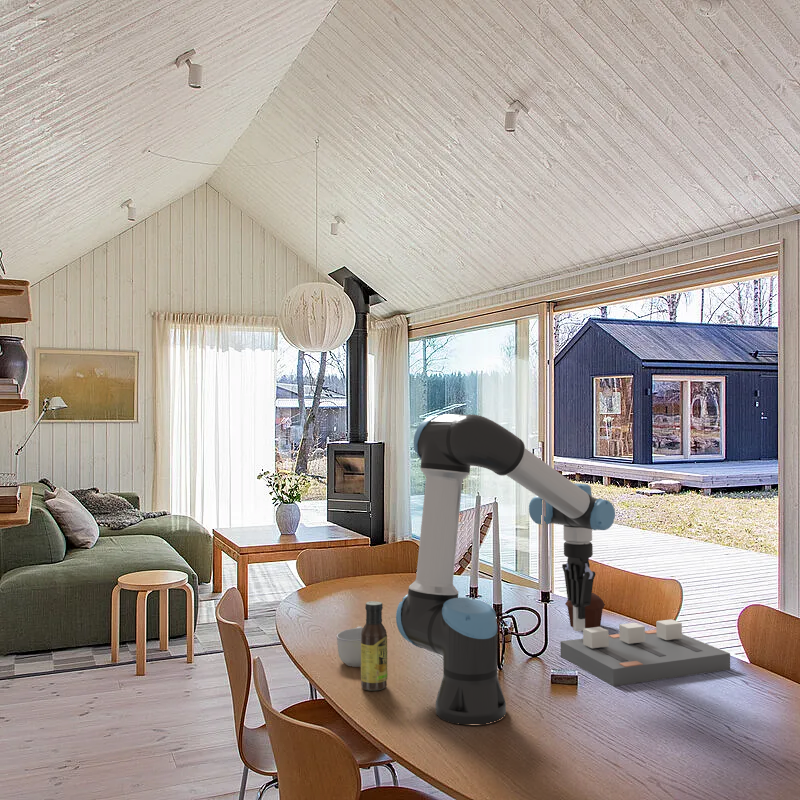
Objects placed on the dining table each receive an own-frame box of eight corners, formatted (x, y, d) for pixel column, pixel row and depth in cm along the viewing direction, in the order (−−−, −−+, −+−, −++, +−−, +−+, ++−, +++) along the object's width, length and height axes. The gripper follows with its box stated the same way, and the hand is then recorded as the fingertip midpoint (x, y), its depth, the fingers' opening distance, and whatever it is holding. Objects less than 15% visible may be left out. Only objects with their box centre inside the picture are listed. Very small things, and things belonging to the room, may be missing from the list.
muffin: (592, 619, 244) (592, 587, 244) (612, 629, 233) (612, 595, 234) (558, 623, 240) (558, 590, 240) (577, 632, 230) (577, 598, 230)
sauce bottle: (383, 693, 182) (383, 607, 182) (357, 691, 184) (357, 605, 184) (390, 683, 188) (389, 600, 189) (365, 682, 190) (364, 599, 190)
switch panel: (730, 669, 196) (730, 652, 196) (613, 686, 185) (613, 668, 185) (668, 642, 219) (667, 627, 219) (560, 656, 208) (560, 640, 208)
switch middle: (645, 641, 205) (644, 626, 205) (628, 643, 204) (628, 628, 204) (635, 637, 209) (635, 622, 209) (619, 639, 208) (619, 624, 208)
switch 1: (608, 646, 202) (608, 630, 202) (591, 648, 200) (591, 632, 200) (599, 642, 206) (599, 626, 206) (583, 644, 204) (583, 628, 204)
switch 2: (681, 638, 208) (681, 623, 208) (666, 640, 207) (665, 624, 207) (672, 634, 212) (671, 619, 212) (656, 636, 210) (656, 621, 210)
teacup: (373, 671, 198) (372, 639, 198) (331, 669, 200) (331, 637, 200) (385, 654, 211) (385, 624, 211) (346, 652, 213) (346, 622, 214)
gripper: (603, 544, 206) (605, 635, 205) (577, 537, 218) (578, 622, 218) (578, 546, 203) (580, 638, 203) (553, 538, 216) (554, 625, 215)
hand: (579, 630), depth 210 cm, fingers closed
